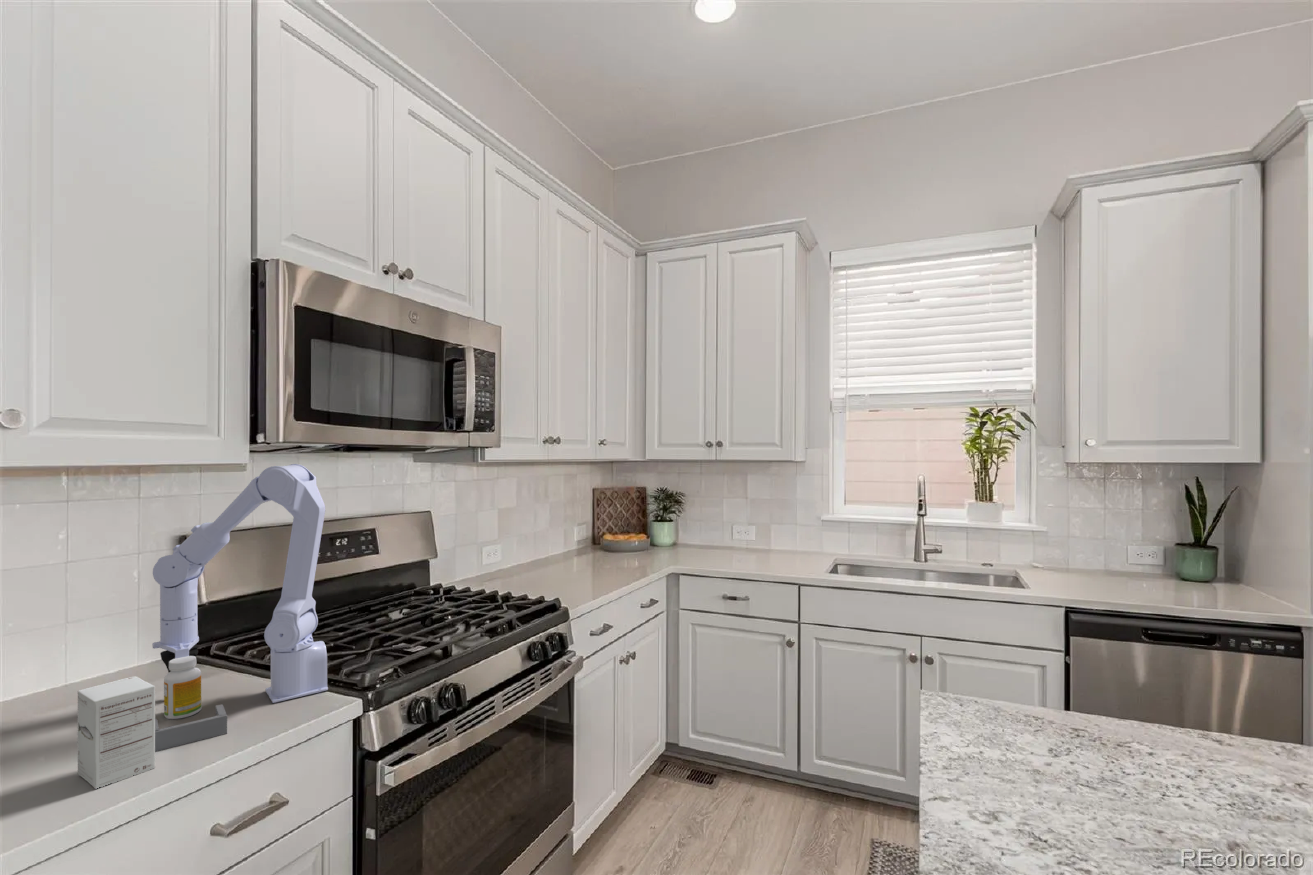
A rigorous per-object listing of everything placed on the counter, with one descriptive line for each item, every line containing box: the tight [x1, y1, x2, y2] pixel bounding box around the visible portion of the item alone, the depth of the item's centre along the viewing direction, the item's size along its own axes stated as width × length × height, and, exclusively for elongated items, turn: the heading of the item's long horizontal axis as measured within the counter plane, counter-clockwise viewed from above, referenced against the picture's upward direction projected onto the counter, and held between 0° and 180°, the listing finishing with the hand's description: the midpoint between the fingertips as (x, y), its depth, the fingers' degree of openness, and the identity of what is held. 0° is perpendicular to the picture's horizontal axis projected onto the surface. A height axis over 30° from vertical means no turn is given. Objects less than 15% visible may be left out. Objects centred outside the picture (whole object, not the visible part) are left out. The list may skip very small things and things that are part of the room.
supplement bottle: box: [163, 656, 202, 720], centre depth 115 cm, size 5×5×10 cm
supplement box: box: [77, 675, 156, 790], centre depth 95 cm, size 7×7×13 cm
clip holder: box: [155, 703, 228, 752], centre depth 106 cm, size 10×6×3 cm, turn 130°
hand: (179, 688), depth 122 cm, fingers closed
